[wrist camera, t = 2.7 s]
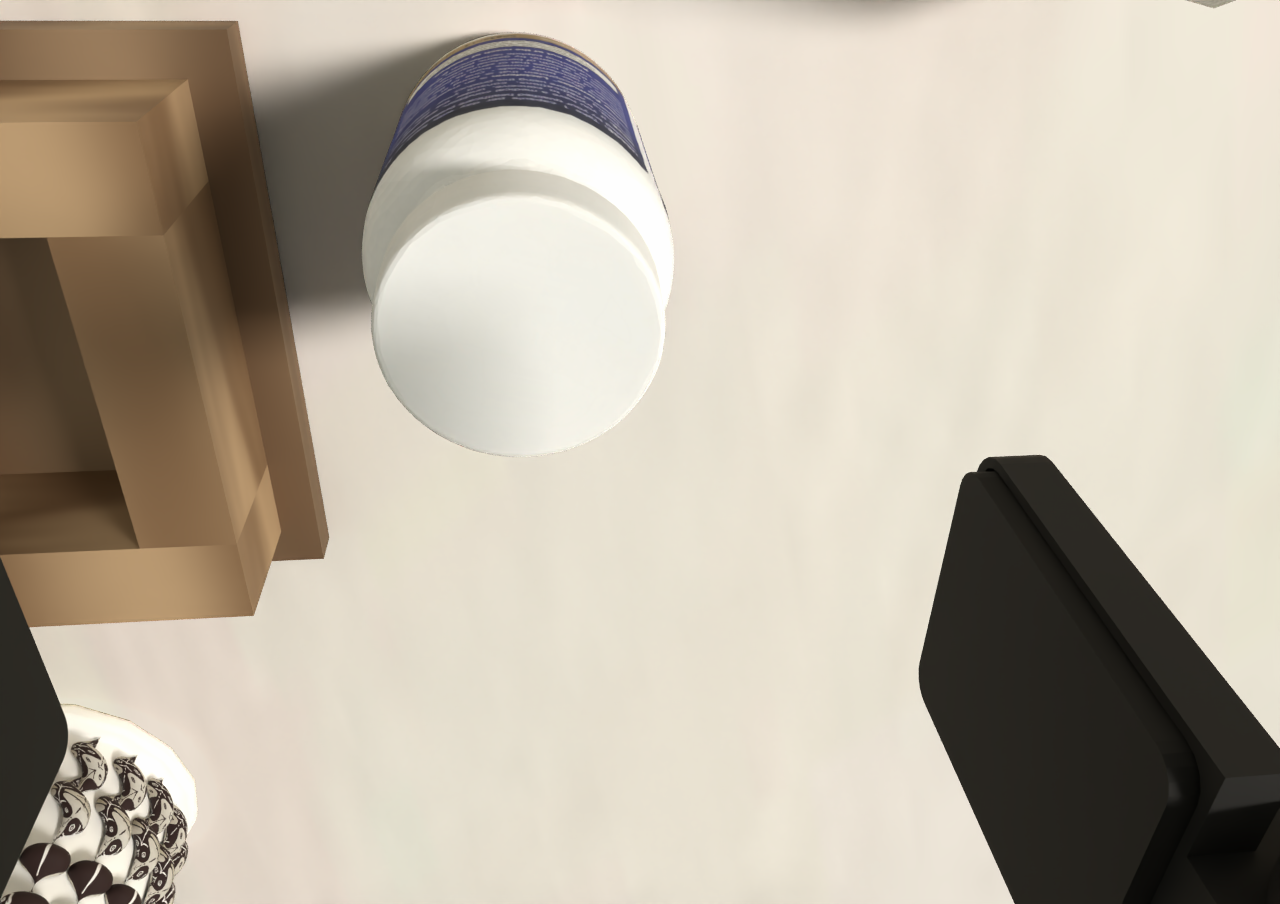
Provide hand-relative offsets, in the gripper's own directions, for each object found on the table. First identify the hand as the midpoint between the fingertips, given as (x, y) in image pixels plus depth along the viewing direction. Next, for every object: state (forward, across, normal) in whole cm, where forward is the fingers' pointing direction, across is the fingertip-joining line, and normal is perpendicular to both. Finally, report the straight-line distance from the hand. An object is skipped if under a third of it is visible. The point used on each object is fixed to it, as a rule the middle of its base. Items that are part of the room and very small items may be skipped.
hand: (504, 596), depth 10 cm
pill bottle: (+17, 0, +1) cm, 17 cm away
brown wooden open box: (+17, +13, +5) cm, 22 cm away
